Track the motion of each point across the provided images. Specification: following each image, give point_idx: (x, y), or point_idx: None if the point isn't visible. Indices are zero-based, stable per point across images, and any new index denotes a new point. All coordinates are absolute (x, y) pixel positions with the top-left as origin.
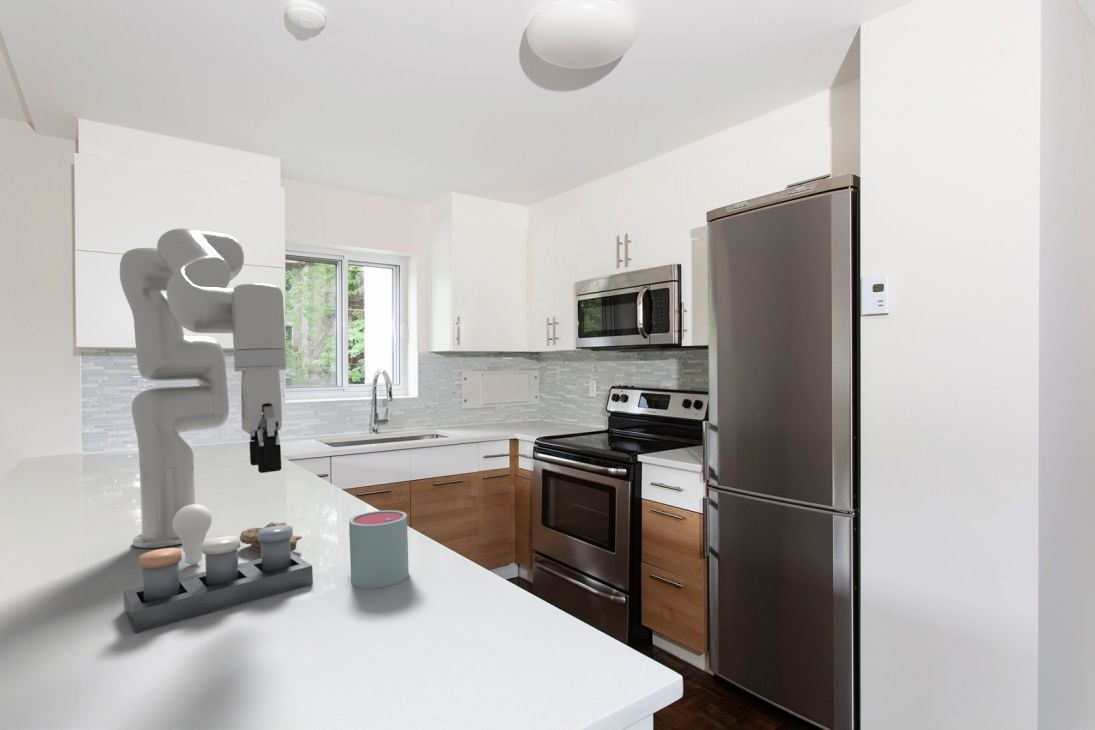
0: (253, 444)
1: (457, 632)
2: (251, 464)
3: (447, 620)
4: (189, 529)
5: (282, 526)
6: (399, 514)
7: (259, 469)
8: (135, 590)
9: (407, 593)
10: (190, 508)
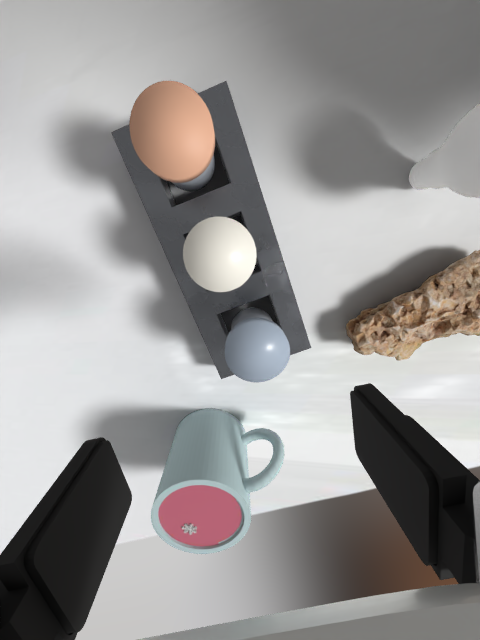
0: (415, 479)
1: (29, 486)
2: (357, 387)
3: None
4: (446, 150)
5: (278, 364)
6: (217, 543)
7: (83, 449)
8: (218, 105)
9: (144, 459)
10: None
